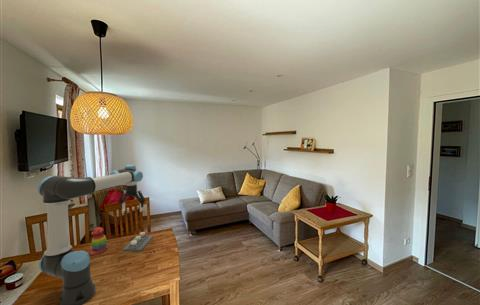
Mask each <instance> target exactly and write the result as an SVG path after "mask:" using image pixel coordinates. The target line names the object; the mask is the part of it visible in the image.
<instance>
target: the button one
mask: <svg viewBox="0 0 480 305" xmlns="http://www.w3.org/2000/svg"><path fill="white" fill-rule="evenodd" d="M130 242H131V246H136V245H137V240H133V239H132V240H131V241H130Z"/></svg>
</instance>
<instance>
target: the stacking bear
mask: <svg viewBox="0 0 480 305" xmlns="http://www.w3.org/2000/svg"><path fill="white" fill-rule="evenodd" d="M91 236H92V239H91V242H90V243H91V251H90V252H89V256H95V255H99V254H102V253H104V252H105V251H107V249H108V248H107V236H106V235H105V234H104V228H103V227H100V226H97V227H95V228H94V230H93V231H92V232H91Z"/></svg>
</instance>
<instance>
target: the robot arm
mask: <svg viewBox="0 0 480 305" xmlns="http://www.w3.org/2000/svg"><path fill="white" fill-rule="evenodd" d="M143 178H144V174H143V172H142V171H140V170H137V167H136V165H135V164H126V165H124V168H122V169H115V170H112V171H111V172H110V174H108V175H102V176H98V177H97V176H96V177H91V176H86V177H75V176H64V175H50V176H47V177H45V178H43V179H42V180H41V181H40V182H39V184H38V185H37V192H38V194H39V195H41V196H42V203H43V204H44V205H46V213H47V214H46V216H47V218H46V219H47V222H46V223H47V225H46V226H47V249H46V250H45V251H44V252H43V256H42V257H41V258H40V260H39V262H38V268H39V270H40V272H42V273H43V274H44V275H48V276H53V277H55V278H58V279H62V290H61V291H62V292H61V294H60V297H59V305H83V304H85V303H86V302H88V301H89V300H90V299H92V298H93V297H94V295H95V294H96V285H95V283H94V282H93V279H92V274H91V273H92V272H91V258H90V253H89V252H87V251H85V250H74V251H73V246H72V245H71V244H69V202H70V201H72V199H76V198H80V197H84V196H87V195H92V194H94V193H95V192H96V191H100V190H104V189H108V188H113V187H116V186H120V185H125V190H122V191H121V195H120V197H119V200H118V203H120V207H121V208H122V213H124V212H125V211H126V200H127V199H128V198H130V197H134V198H135V199H136V200H137V201H138V202H139V212H140V213H142V211H143V210H144V209H143V208H144V206H145V205H144V203H146V202H147V200H146V199H145V197H144V195H143V193H142V190H141V189H140V190H138V185H137V182H141V181H142V180H143ZM125 194H126V195H125ZM91 297H92V298H91Z"/></svg>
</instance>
